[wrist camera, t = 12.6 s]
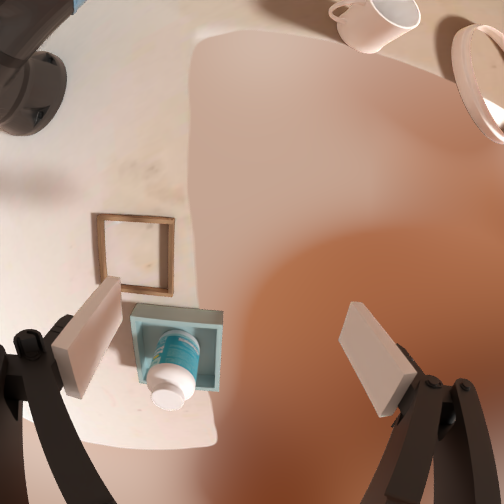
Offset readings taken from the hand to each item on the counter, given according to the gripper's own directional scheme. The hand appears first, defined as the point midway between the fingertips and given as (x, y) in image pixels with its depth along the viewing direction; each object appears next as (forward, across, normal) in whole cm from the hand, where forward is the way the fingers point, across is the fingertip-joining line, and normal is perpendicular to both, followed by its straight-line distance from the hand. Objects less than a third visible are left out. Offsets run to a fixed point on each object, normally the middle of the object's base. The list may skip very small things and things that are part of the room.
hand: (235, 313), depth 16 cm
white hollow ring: (+29, +49, +38) cm, 68 cm away
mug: (+29, +14, +33) cm, 46 cm away
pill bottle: (+28, -6, -24) cm, 37 cm away
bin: (+28, -6, -24) cm, 37 cm away
